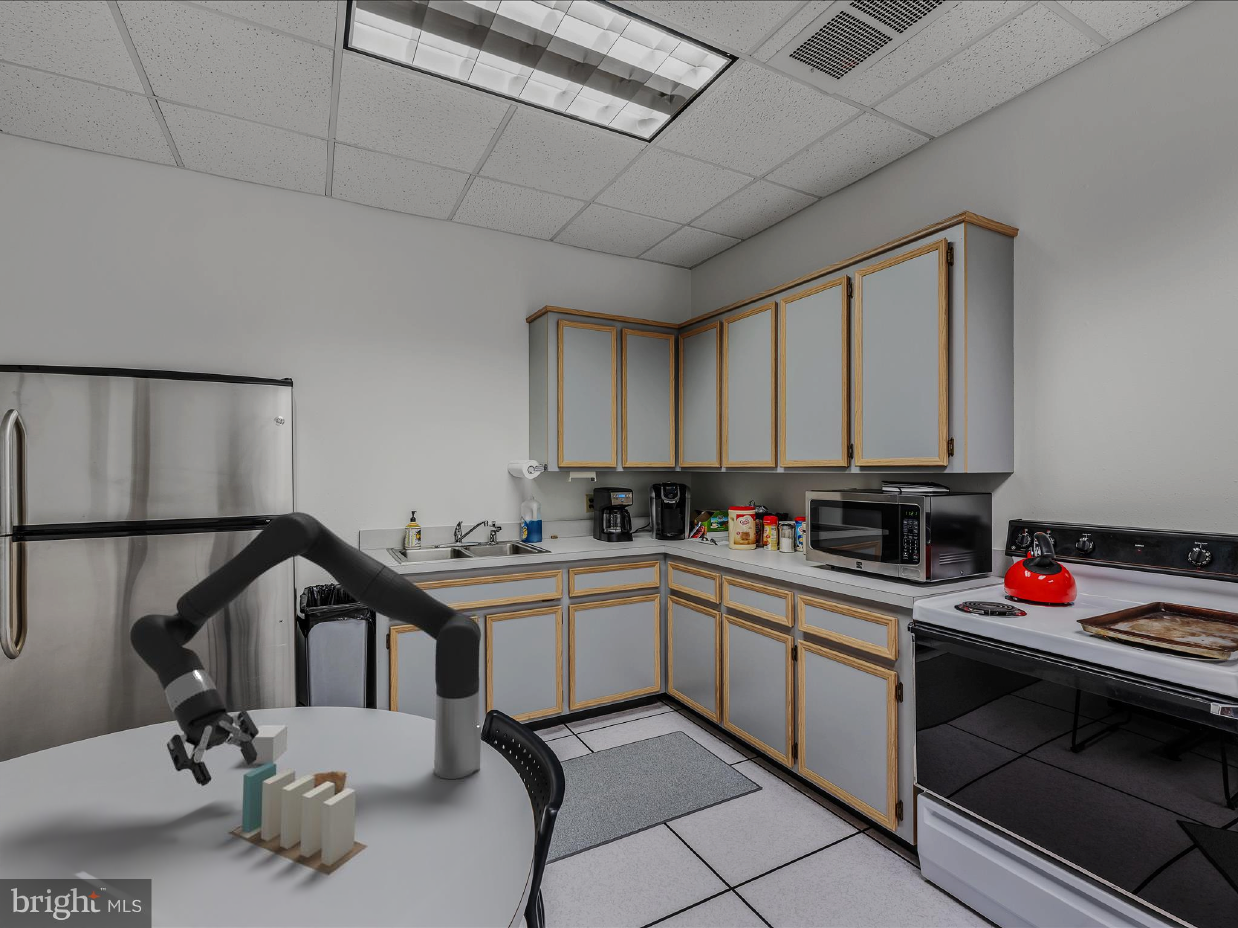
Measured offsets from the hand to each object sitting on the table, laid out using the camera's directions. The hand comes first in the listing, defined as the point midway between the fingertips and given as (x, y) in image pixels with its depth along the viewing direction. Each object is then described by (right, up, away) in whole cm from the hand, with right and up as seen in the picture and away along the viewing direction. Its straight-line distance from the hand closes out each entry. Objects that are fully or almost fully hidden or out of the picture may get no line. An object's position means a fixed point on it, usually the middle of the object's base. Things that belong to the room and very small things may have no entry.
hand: (230, 772), depth 110 cm
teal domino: (+7, -8, -3) cm, 11 cm away
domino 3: (+21, -8, -9) cm, 24 cm away
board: (+16, -9, -7) cm, 20 cm away
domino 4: (+26, -8, -11) cm, 29 cm away
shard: (+14, -10, +12) cm, 21 cm away
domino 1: (+12, -8, -5) cm, 15 cm away
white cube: (-7, -9, +23) cm, 26 cm away
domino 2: (+16, -8, -7) cm, 20 cm away
